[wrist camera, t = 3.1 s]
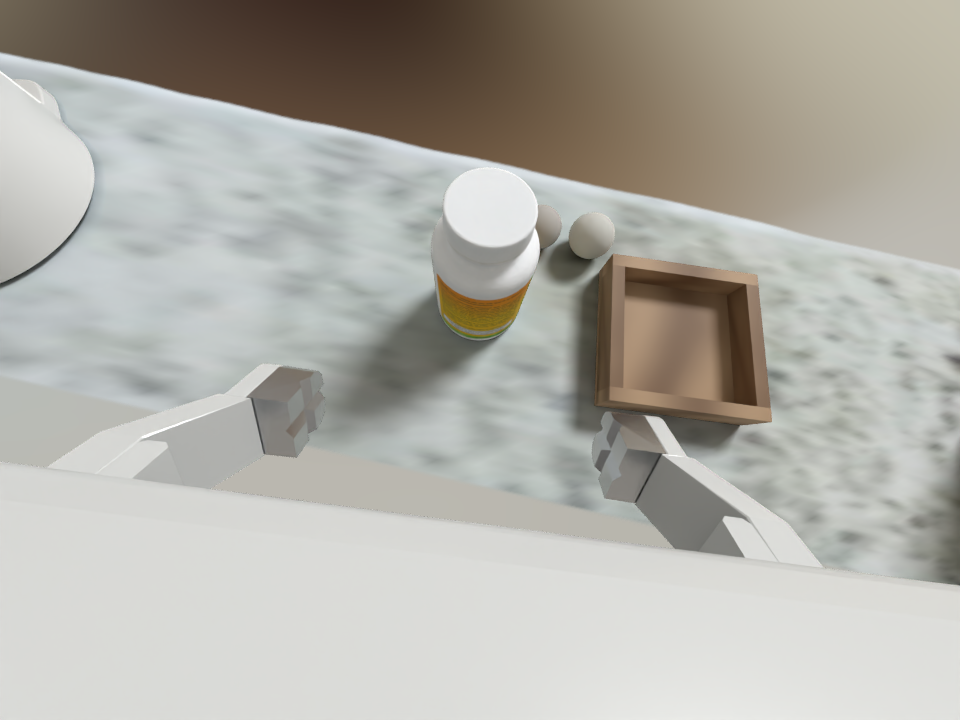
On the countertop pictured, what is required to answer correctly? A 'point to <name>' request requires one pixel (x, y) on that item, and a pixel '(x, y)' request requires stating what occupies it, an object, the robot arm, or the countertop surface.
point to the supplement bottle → (484, 251)
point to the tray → (681, 342)
